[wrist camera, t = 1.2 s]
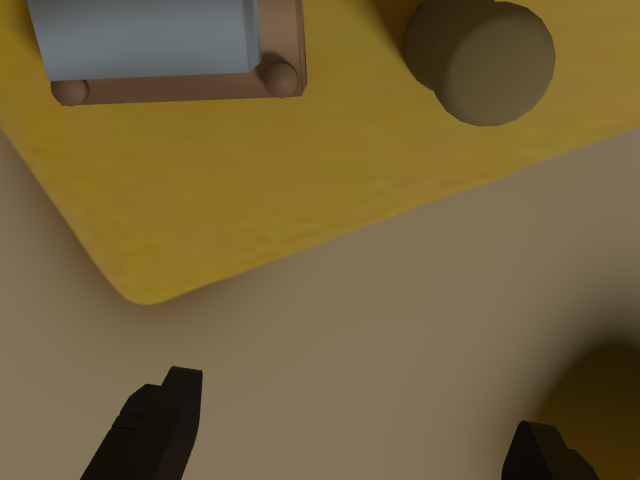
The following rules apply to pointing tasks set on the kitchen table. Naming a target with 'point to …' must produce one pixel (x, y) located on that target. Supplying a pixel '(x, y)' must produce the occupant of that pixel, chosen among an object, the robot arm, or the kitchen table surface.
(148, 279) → the kitchen table surface
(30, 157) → the kitchen table surface
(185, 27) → the knobbed square tray
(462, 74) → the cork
